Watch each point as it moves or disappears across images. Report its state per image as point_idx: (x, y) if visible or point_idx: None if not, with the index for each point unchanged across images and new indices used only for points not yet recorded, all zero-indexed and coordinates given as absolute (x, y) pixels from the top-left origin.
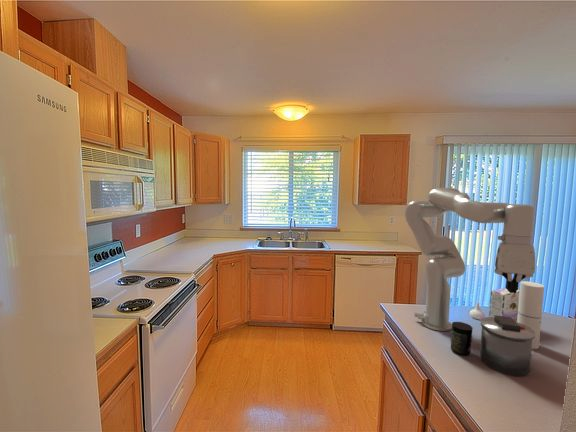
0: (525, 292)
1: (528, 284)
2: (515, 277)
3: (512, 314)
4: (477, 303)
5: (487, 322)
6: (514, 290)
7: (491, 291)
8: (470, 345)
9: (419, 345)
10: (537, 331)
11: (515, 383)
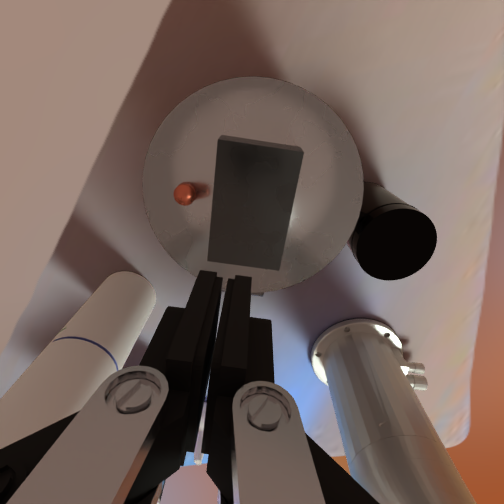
0: None
1: None
2: (138, 485)
3: None
4: (200, 456)
5: (326, 223)
6: (212, 288)
7: (159, 498)
8: None
9: (483, 220)
10: (88, 304)
11: (275, 48)
